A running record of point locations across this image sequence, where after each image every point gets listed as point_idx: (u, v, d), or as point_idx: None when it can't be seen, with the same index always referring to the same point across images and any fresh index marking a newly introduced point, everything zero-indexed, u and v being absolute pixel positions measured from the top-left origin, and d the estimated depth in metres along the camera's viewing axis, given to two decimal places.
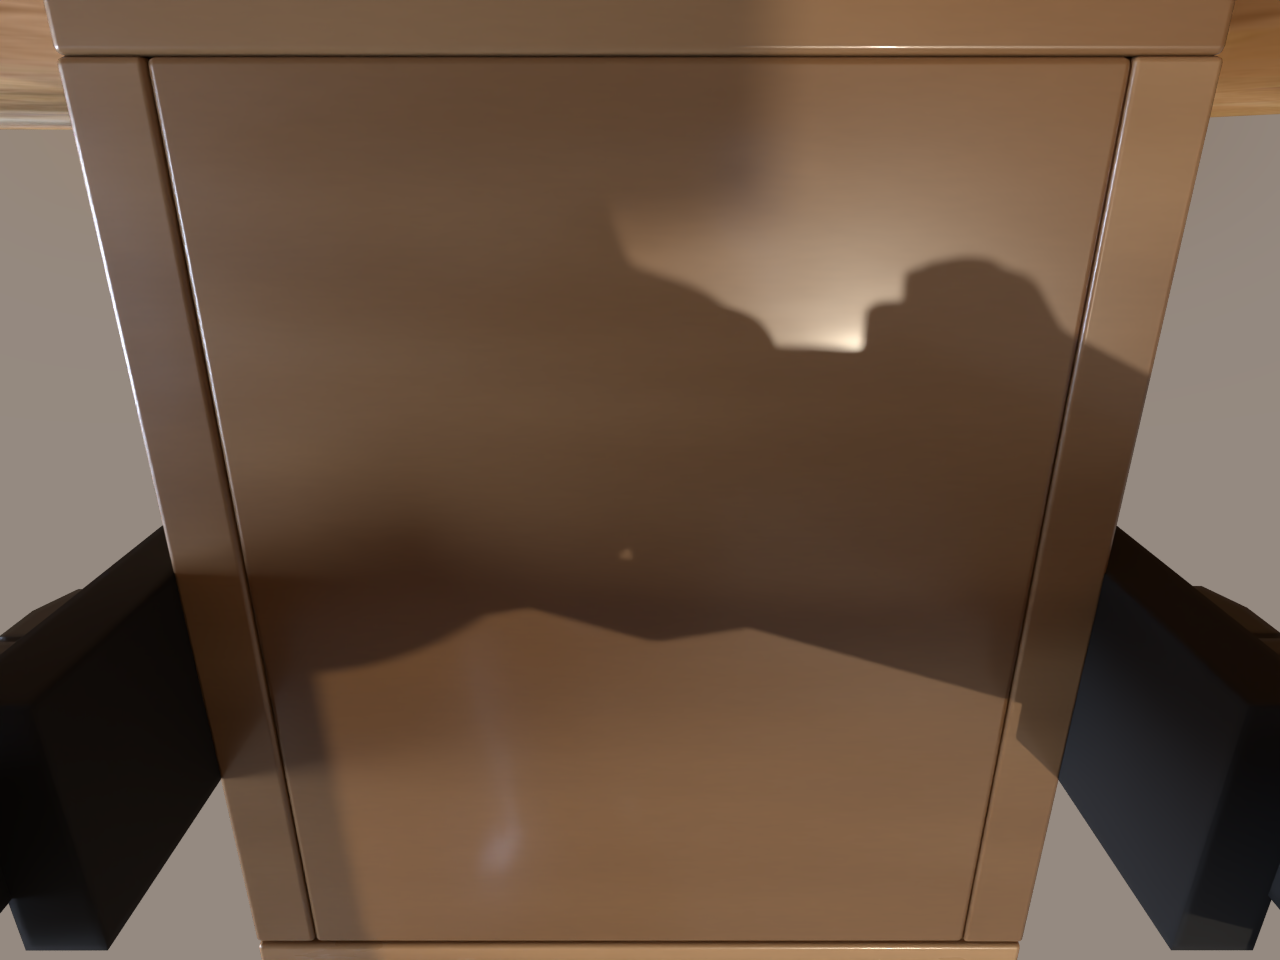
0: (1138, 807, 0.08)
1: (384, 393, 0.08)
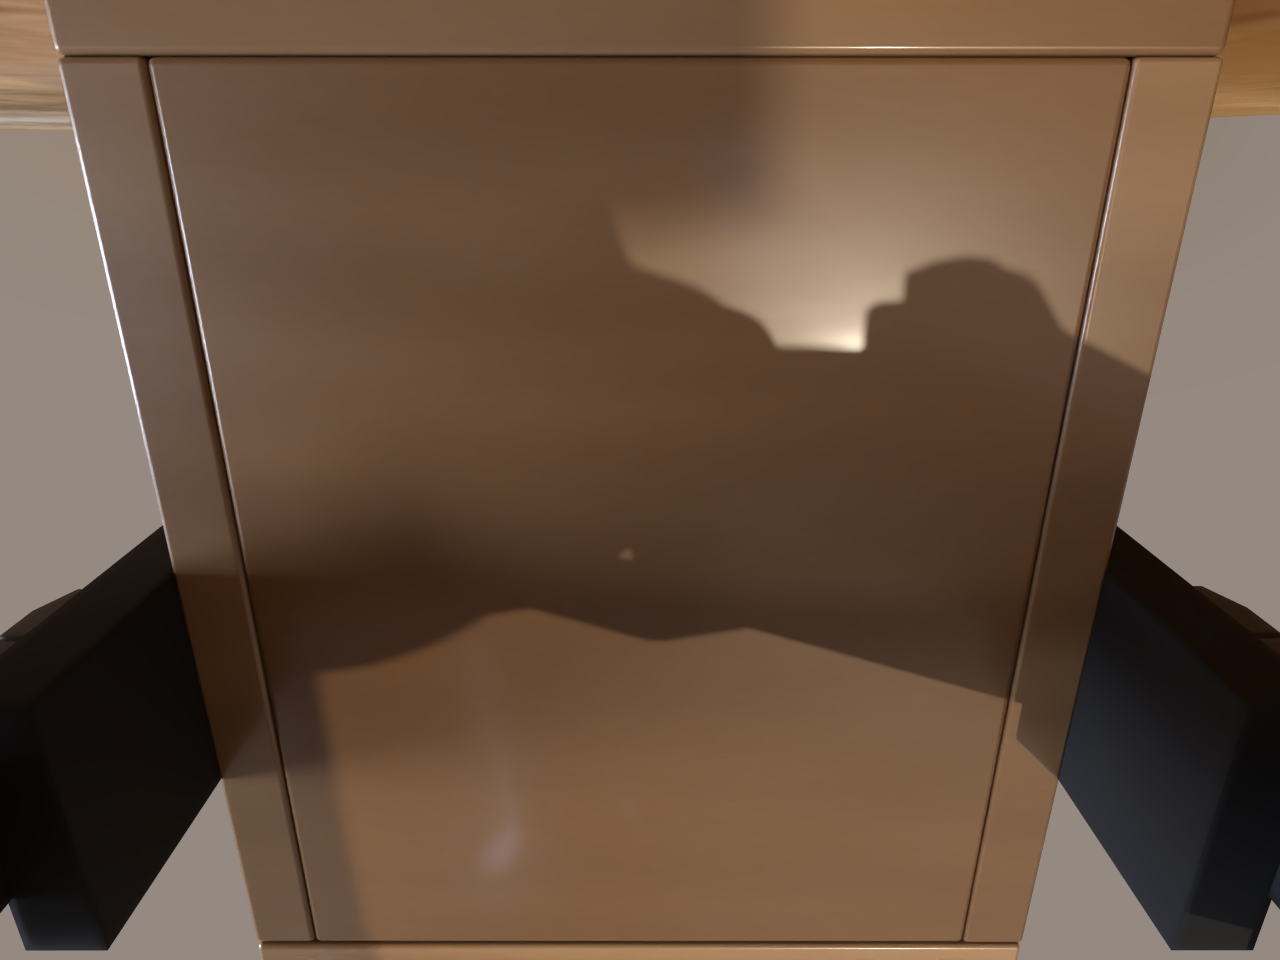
0: (1137, 807, 0.08)
1: (384, 393, 0.08)
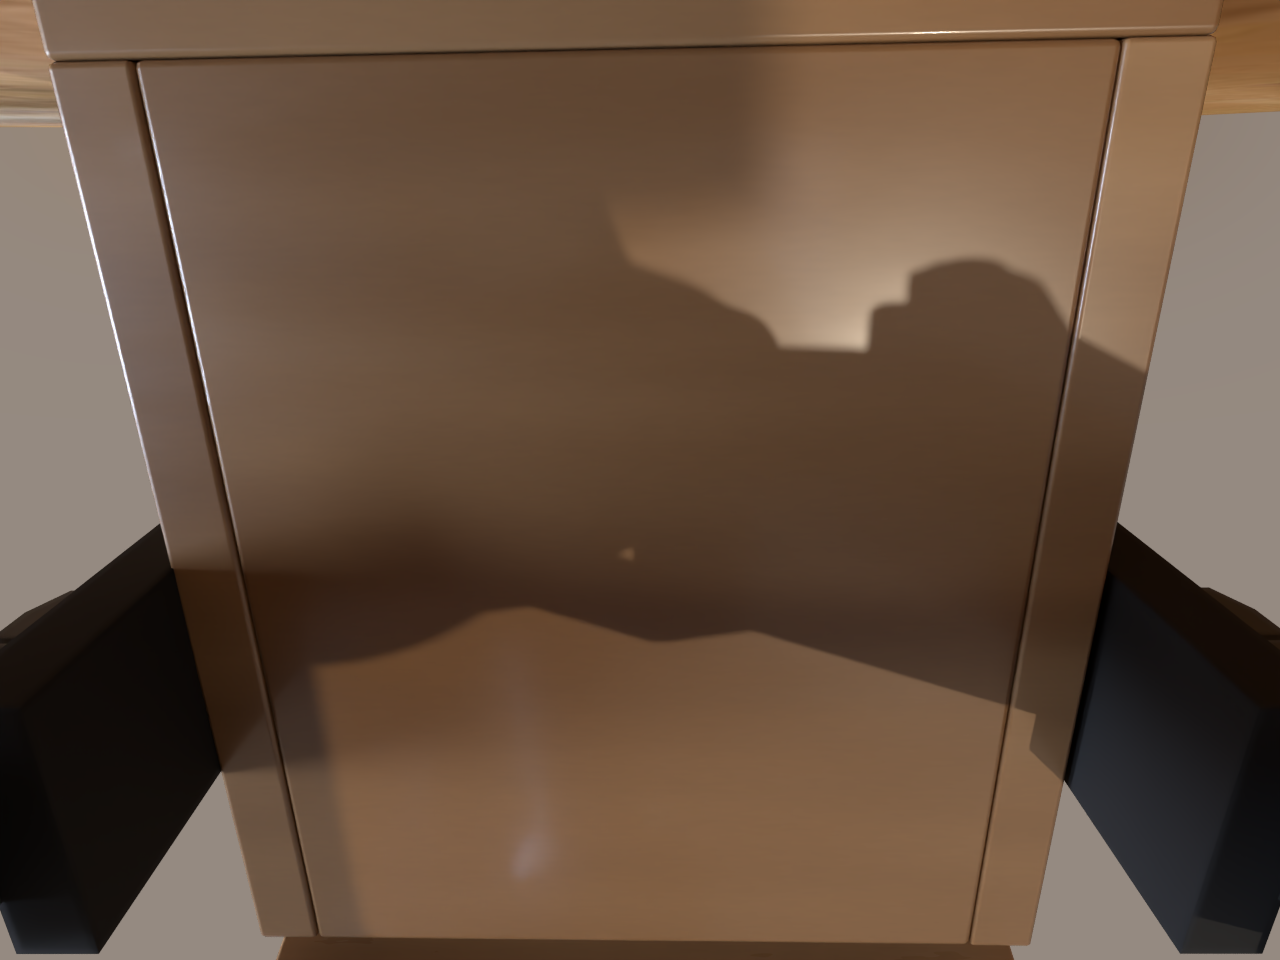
0: (1145, 809, 0.08)
1: (373, 390, 0.08)
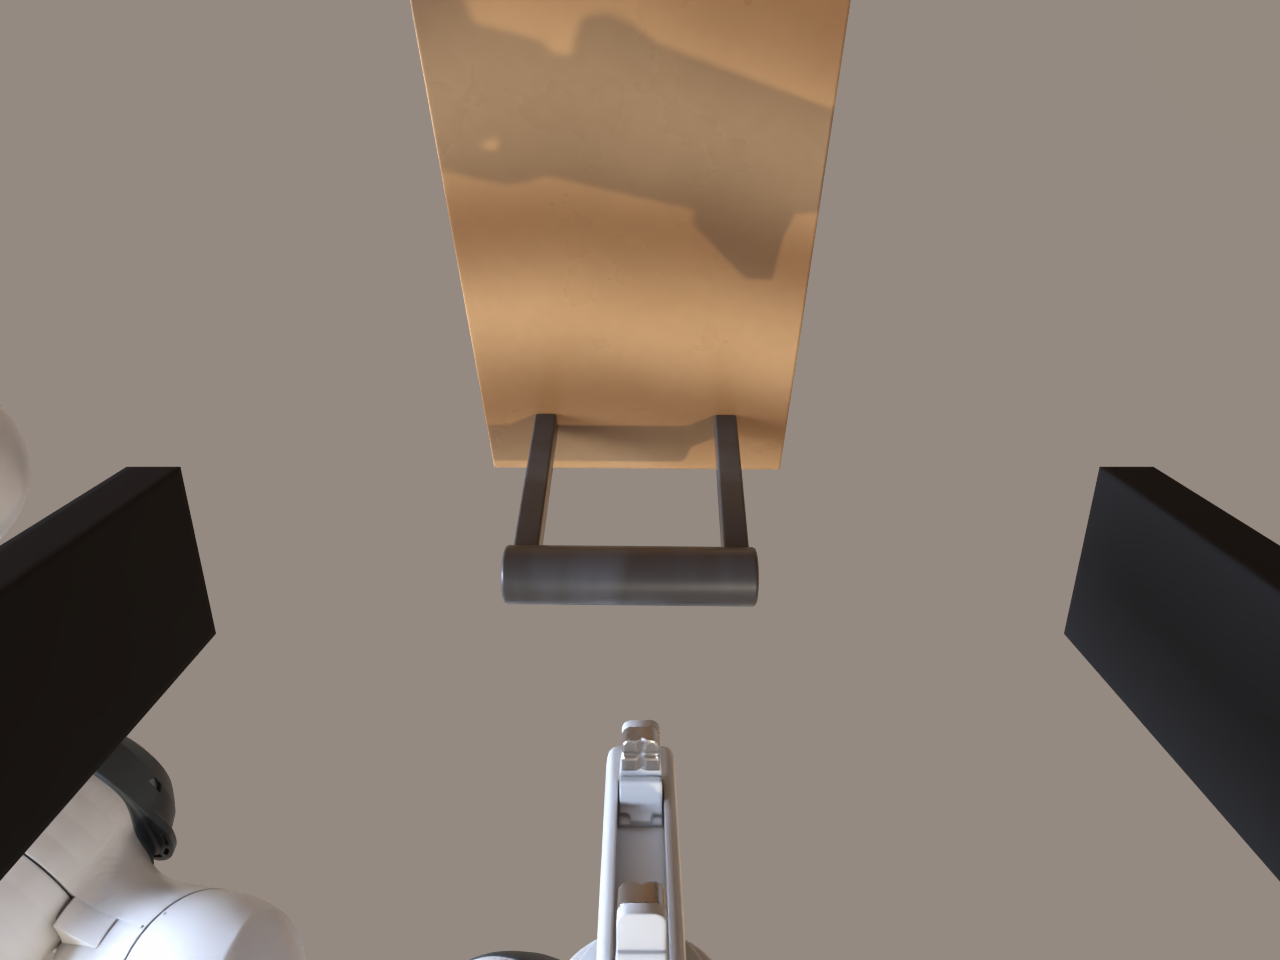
0: None
1: None
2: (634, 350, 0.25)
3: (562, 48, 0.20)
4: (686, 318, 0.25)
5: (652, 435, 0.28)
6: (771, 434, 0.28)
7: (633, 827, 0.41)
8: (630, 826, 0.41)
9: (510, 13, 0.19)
